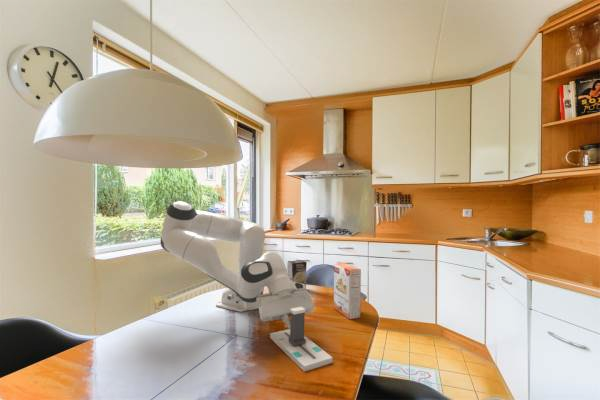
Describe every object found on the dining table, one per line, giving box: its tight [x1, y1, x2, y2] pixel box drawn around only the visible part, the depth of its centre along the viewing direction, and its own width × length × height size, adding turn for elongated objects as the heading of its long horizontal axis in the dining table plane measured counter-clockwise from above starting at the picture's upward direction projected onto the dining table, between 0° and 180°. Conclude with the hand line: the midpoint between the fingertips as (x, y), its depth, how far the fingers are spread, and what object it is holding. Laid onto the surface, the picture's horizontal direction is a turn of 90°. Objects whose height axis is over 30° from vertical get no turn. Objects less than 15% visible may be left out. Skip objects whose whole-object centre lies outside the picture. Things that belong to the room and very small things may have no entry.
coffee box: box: [286, 259, 307, 291], centre depth 161 cm, size 9×6×16 cm
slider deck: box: [269, 328, 334, 372], centre depth 95 cm, size 24×10×2 cm, turn 30°
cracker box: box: [333, 262, 362, 320], centre depth 128 cm, size 14×6×21 cm, turn 21°
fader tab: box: [289, 307, 306, 346], centre depth 96 cm, size 4×4×11 cm
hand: (293, 328), depth 98 cm, fingers closed, pressing on fader tab
